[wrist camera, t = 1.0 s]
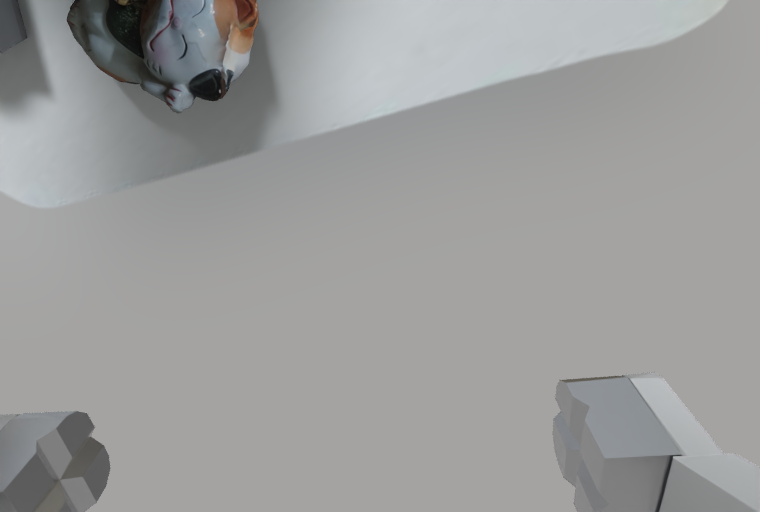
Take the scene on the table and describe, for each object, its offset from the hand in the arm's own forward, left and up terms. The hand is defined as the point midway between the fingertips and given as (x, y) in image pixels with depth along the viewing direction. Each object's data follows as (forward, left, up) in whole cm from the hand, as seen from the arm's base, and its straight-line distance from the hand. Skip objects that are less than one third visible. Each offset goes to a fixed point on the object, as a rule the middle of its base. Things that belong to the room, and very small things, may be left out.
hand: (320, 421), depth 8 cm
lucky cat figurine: (+4, -11, -47) cm, 48 cm away
